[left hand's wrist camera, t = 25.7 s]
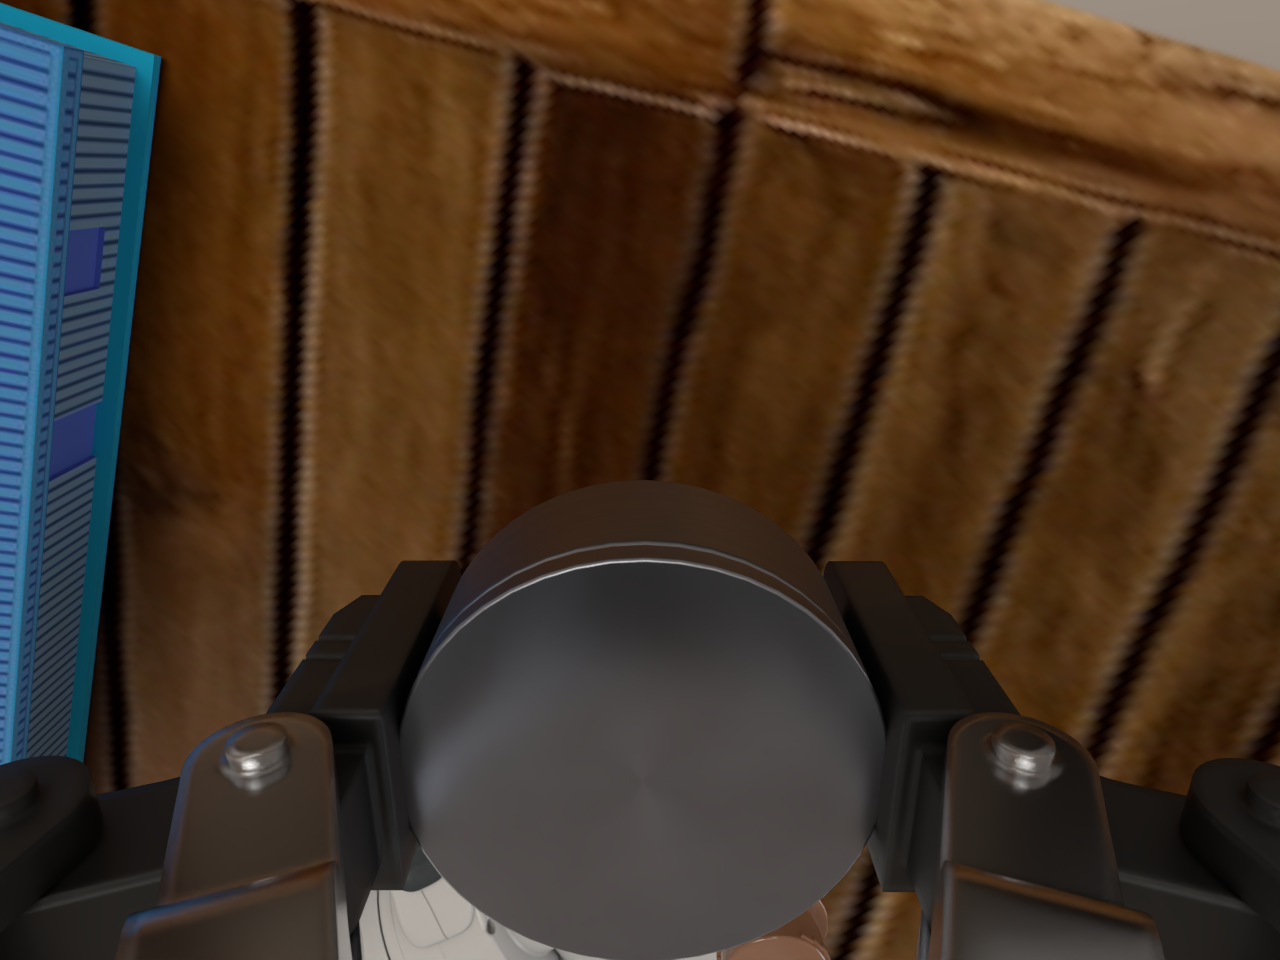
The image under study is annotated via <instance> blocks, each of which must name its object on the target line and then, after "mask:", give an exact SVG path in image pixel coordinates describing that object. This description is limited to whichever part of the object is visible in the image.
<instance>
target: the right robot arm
mask: <svg viewBox="0 0 1280 960" xmlns="http://www.w3.org/2000/svg"><path fill="white" fill-rule="evenodd" d="M360 924H361V930H362V937H363V946H364V958H365V960H607V959H601V958H594V957H588V956H582V955H578V954H574V953H570V952H566V951H562V950H558V949H555V948H552V947H549V946H546V945H544V944H541V943H538V942H536V941H533V940H530V939H528V938H526V937H523V936H521V935H519V934H517V933H515V932H513V931H511V930H509V929H507V928H505V927H503V926H502V925H500V924H498V923H497V922H495V921H494V920H492V919H491V918H489V917H487V916H486V915H484V914H483V913H481V912H480V911H478V910H477V909H476V908H475V907H473V906H472V905H471V904H470V903H469V902H467V901H466V900H465V899H464V898H462V897H461V896H460V895H459V894H458V893H457V892H456V891H455V890H454V889H453V888H452V887H451V886H450V885H449V884H448V883H447V882H446V881H445V880H444V879H443V878H442V877H441V876H440V874H439V873H438V872H437V870H436V869H435V868H434V866H433V865H432V864H431V862H430V861H429V859H428V858H427V857H426V855H425V854H424V853H423V851H422V849H421V847H420V845H419V843H418V847H417V850H416V853H415V856H414V859H413V862H412V865H411V868H410V871H409V874H408V877H407V880H406V883H405V886H404V889H403V890H371V891H370V894H369V896H368V899H367V902H366V904H365V907H364V910H363V913H362V915H361V918H360ZM677 960H717V957H716V952H715V953H711V954H707V955H702V956H698V957H691V958H684V959H677Z"/></svg>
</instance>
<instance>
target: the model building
mask: <svg viewBox="0 0 1280 960" xmlns="http://www.w3.org/2000/svg"><path fill="white" fill-rule="evenodd" d="M160 64H161V56H158V55H155V54H152V53H149V52H146V51H143V50H140V49H137V48H134V47H131V46H128V45H125V44H122V43H119V42H116V41H113V40H110V39H107V38H104V37H101V36H98V35H95V34H92V33H89V32H86V31H83V30H80V29H77V28H74V27H71V26H68V25H65V24H62V23H59V22H56V21H54V20H51V19H48V18H45V17H42V16H39V15H36V14H33V13H30V12H27V11H24V10H21V9H18V8H15V7H12V6H9V5H6V4H3V3H0V765H2V764H5V763H9V762H12V761H16V760H21V759H25V758H30V757H38V756H65V757H70V758H74V759H77V760H79V761H81V762H84V753H85V744H86V735H87V726H88V717H89V708H90V699H91V689H92V680H93V671H94V662H95V653H96V644H97V635H98V626H99V617H100V608H101V599H102V590H103V581H104V572H105V563H106V554H107V545H108V535H109V526H110V517H111V508H112V499H113V490H114V481H115V472H116V463H117V454H118V445H119V436H120V427H121V418H122V409H123V400H124V391H125V381H126V372H127V363H128V354H129V345H130V336H131V327H132V318H133V309H134V300H135V291H136V282H137V273H138V264H139V255H140V246H141V237H142V227H143V218H144V209H145V200H146V191H147V182H148V173H149V164H150V155H151V146H152V137H153V128H154V119H155V110H156V101H157V92H158V83H159V73H160Z"/></svg>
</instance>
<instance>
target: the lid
mask: <svg viewBox="0 0 1280 960" xmlns="http://www.w3.org/2000/svg"><path fill="white" fill-rule="evenodd" d="M886 735H887V728H886V723H885V720H884V716H883V712H882V709H881V705H880V701H879V699H878V697H877V695H876V692H875V690H874V688H873V686H872V683H871V681H870V679H869V677H868V675H867V672H866V670H865V668H864V666H863V663H862V661H861V659H860V657H859V655H858V652H857V650H856V648H855V646H854V643H853V641H852V639H851V637H850V634H849V632H848V630H847V628H846V626H845V623H844V621H843V619H842V617H841V614H840V612H839V610H838V608H837V606H836V603H835V601H834V599H833V597H832V594H831V592H830V590H829V588H828V586H827V583H826V581H825V579H824V578H823V576H822V575H821V573H820V572H819V570H818V568H817V567H816V565H815V564H814V562H813V561H812V559H811V558H810V557H809V556H808V555H807V553H806V552H805V551H804V550H803V549H802V548H801V547H800V545H799V544H798V543H797V542H796V541H795V540H794V539H793V538H792V537H791V536H790V535H788V534H787V533H786V532H785V531H784V530H783V529H781V528H780V527H779V526H778V525H777V524H776V523H774V522H773V521H771V520H770V519H768V518H767V517H765V516H764V515H762V514H761V513H759V512H758V511H756V510H754V509H753V508H751V507H749V506H747V505H745V504H743V503H741V502H738V501H736V500H734V499H732V498H730V497H728V496H725V495H722V494H719V493H716V492H713V491H710V490H707V489H704V488H701V487H696V486H691V485H686V484H680V483H675V482H665V481H651V480H636V481H617V482H610V483H605V484H599V485H594V486H588V487H585V488H581V489H578V490H575V491H572V492H568V493H565V494H562V495H559V496H557V497H555V498H553V499H551V500H548V501H546V502H544V503H542V504H540V505H537V506H535V507H534V508H532V509H531V510H529V511H527V512H526V513H524V514H523V515H521V516H519V517H518V518H516V519H515V520H513V521H512V522H510V523H509V524H508V525H507V526H506V527H504V528H503V529H502V530H501V531H500V532H498V533H497V534H496V535H495V536H494V537H492V538H491V540H490V541H489V542H488V543H487V544H486V545H485V546H484V547H483V548H482V549H481V551H480V552H479V553H478V554H477V555H476V556H475V557H474V559H473V560H472V562H471V563H470V565H469V566H468V568H467V569H466V571H465V572H464V574H463V575H462V577H461V579H460V581H459V583H458V585H457V587H456V589H455V591H454V593H453V595H452V597H451V599H450V602H449V604H448V606H447V609H446V611H445V613H444V615H443V618H442V620H441V622H440V624H439V627H438V629H437V631H436V634H435V636H434V638H433V640H432V643H431V645H430V647H429V650H428V652H427V654H426V656H425V659H424V661H423V663H422V665H421V668H420V670H419V672H418V675H417V677H416V679H415V681H414V684H413V686H412V688H411V690H410V693H409V695H408V697H407V701H406V704H405V707H404V711H403V714H402V717H401V721H400V724H399V741H400V751H401V759H402V768H403V776H404V784H405V793H406V801H407V809H408V817H409V823H410V828H411V830H412V832H413V834H414V836H415V838H416V840H417V841H418V843H419V845H420V847H421V849H422V851H423V853H424V854H425V855H426V857H427V858H428V859H429V861H430V862H431V864H432V865H433V866H434V868H435V869H436V870H437V872H438V873H439V874H440V876H441V877H442V878H443V879H444V880H445V881H446V882H447V883H448V884H449V885H450V886H451V887H452V888H453V889H454V890H455V891H456V892H457V893H458V894H459V895H460V896H461V897H462V898H464V899H465V900H466V901H467V902H469V903H470V904H471V905H472V906H473V907H475V908H476V909H477V910H478V911H480V912H481V913H483V914H484V915H486V916H487V917H489V918H491V919H492V920H494V921H495V922H497V923H498V924H500V925H502V926H503V927H505V928H507V929H509V930H511V931H513V932H515V933H517V934H519V935H521V936H523V937H526V938H528V939H530V940H533V941H536V942H538V943H541V944H544V945H546V946H549V947H552V948H555V949H558V950H562V951H566V952H570V953H574V954H578V955H582V956H588V957H594V958H601V959H607V960H677V959H684V958H691V957H698V956H702V955H707V954H711V953H715V952H719V951H723V950H727V949H730V948H733V947H735V946H738V945H741V944H744V943H747V942H750V941H753V940H755V939H757V938H759V937H761V936H763V935H765V934H767V933H770V932H772V931H774V930H776V929H778V928H780V927H781V926H783V925H785V924H786V923H788V922H790V921H791V920H793V919H794V918H796V917H798V916H799V915H801V914H803V913H804V912H805V911H806V910H808V909H809V908H810V907H811V906H813V905H814V904H815V903H816V902H818V901H819V900H820V899H822V898H823V897H824V896H825V895H826V894H827V893H828V892H829V891H830V890H831V889H832V888H833V887H834V886H835V885H836V884H837V883H838V882H839V881H840V880H841V879H842V878H843V877H844V876H845V874H846V873H847V872H848V870H849V869H850V868H851V866H852V865H853V864H854V862H855V861H856V860H857V859H858V857H859V856H860V854H861V852H862V851H863V849H864V847H865V845H866V843H867V842H868V840H869V838H870V836H871V835H872V833H873V830H874V828H875V825H876V818H877V811H878V803H879V795H880V787H881V779H882V771H883V763H884V755H885V746H886Z"/></svg>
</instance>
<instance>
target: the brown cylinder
mask: <svg viewBox="0 0 1280 960" xmlns="http://www.w3.org/2000/svg"><path fill="white" fill-rule="evenodd" d="M827 930H828V915H827V911H826V907H825V903H824V899H823V898H822V899H820V900H819V901H818V902H816V903H815V904H814V905H813V906H811V907H810V908H809V909H808V910H806V911H805V912H804V913H803V914H801V915H799V916H798V917H796V918H794V919H793V920H791V921H790V922H788V923H786V924H785V925H783V926H781V927H780V928H778V929H776V930H774V931H772V932H770V933H767V934H765V935H763V936H761V937H759V938H757V939H755V940H753V941H750V942H747V943H744V944H741V945H738V946H735V947H733V948H730V949H727V950H723V951H719V952H716V957H717V960H830V955H829V952H828V951H827V950H826V948H825V946H824V944H823V941H824V939H825V937H826V934H827Z"/></svg>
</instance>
